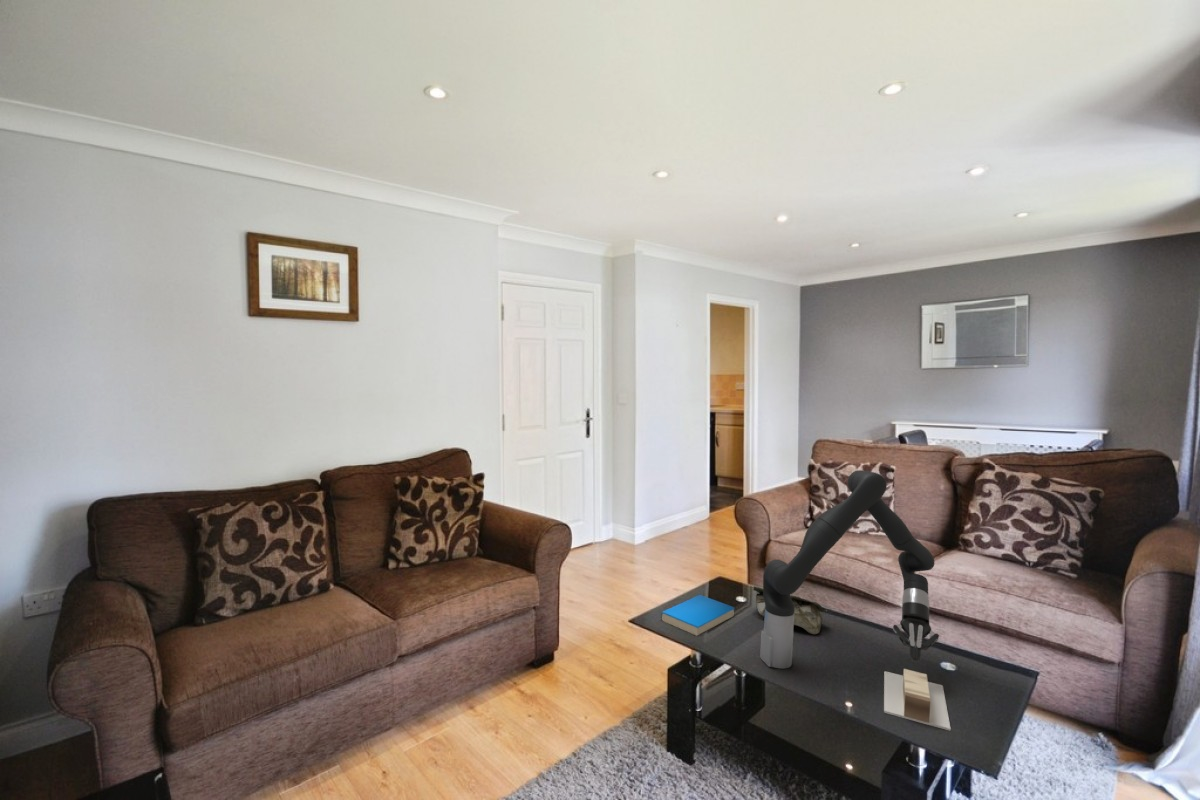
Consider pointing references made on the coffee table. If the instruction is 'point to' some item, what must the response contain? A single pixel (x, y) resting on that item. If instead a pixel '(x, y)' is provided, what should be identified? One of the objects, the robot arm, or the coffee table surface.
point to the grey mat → (896, 706)
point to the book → (697, 614)
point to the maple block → (916, 695)
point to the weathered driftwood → (798, 612)
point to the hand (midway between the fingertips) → (915, 660)
